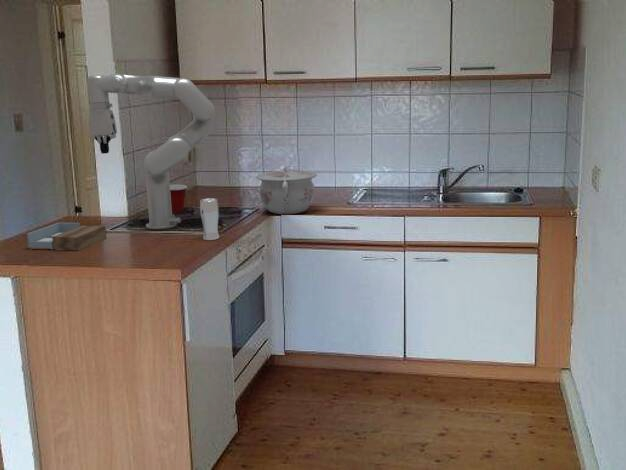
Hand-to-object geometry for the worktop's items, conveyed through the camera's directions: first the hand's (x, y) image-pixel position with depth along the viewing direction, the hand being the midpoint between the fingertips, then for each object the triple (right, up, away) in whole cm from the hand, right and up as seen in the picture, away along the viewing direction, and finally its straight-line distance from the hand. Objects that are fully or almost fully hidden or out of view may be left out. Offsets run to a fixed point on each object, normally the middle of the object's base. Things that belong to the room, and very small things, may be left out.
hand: (105, 153), depth 280 cm
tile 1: (-14, -33, -11) cm, 37 cm away
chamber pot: (+72, -23, +33) cm, 83 cm away
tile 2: (-16, -35, -19) cm, 43 cm away
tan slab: (-4, -37, -17) cm, 40 cm away
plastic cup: (+21, -22, +44) cm, 53 cm away
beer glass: (+45, -35, -14) cm, 59 cm away
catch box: (-14, -36, -14) cm, 42 cm away
